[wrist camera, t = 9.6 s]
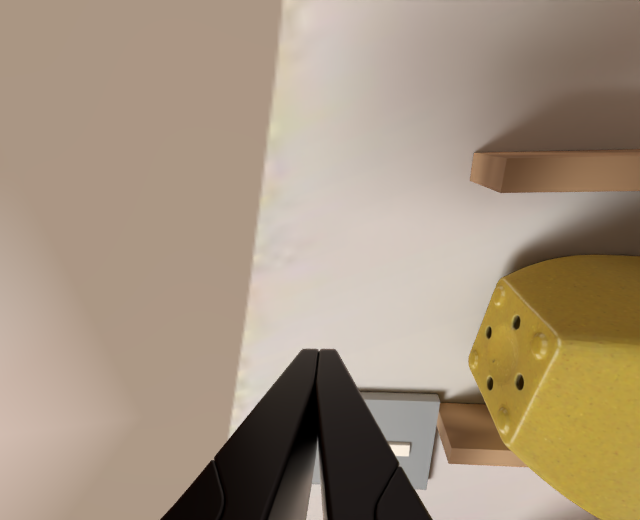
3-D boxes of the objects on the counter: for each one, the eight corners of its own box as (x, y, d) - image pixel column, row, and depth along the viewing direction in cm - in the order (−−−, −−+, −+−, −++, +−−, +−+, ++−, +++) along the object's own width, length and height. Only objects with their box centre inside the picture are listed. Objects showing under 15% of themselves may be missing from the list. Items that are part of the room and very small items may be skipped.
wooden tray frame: (433, 417, 20) (451, 470, 17) (474, 152, 14) (512, 159, 11) (649, 424, 19) (710, 483, 16) (792, 145, 13) (936, 150, 10)
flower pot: (494, 224, 16) (689, 255, 15) (445, 362, 19) (602, 393, 18) (624, 320, 8) (1067, 399, 7) (499, 530, 11) (785, 599, 10)
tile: (424, 480, 22) (427, 492, 21) (310, 475, 23) (309, 486, 22) (437, 393, 19) (441, 404, 18) (306, 390, 20) (304, 400, 19)
